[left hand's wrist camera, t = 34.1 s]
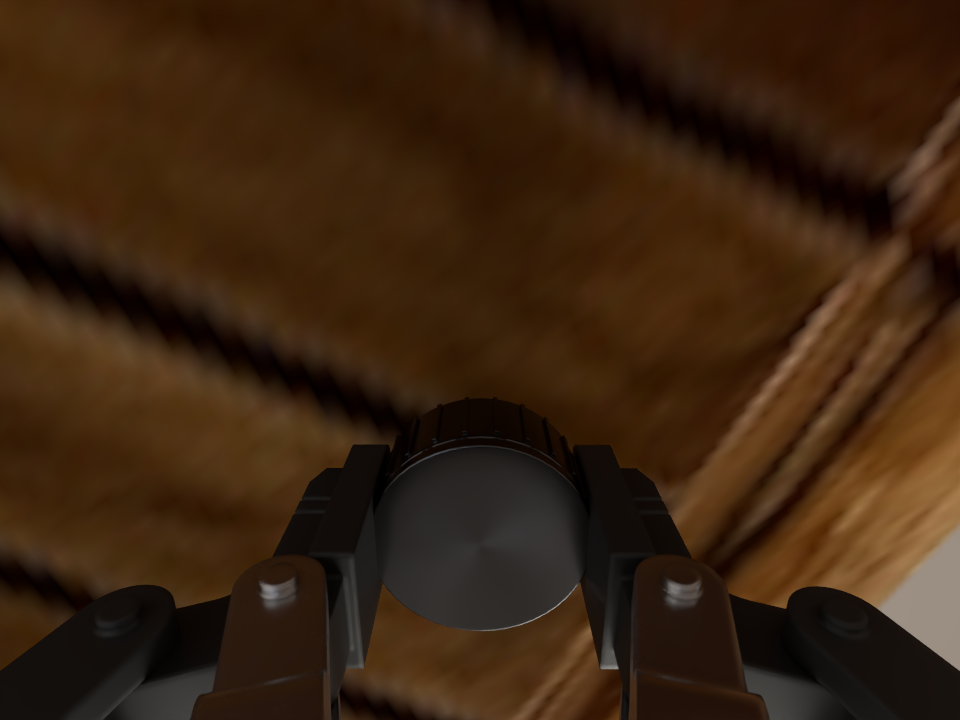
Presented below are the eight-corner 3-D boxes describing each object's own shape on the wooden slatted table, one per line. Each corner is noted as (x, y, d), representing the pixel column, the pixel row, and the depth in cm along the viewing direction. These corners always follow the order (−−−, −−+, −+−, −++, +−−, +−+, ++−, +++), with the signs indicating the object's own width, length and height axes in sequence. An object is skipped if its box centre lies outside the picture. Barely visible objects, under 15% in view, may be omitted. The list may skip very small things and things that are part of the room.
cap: (573, 564, 13) (589, 634, 11) (388, 563, 13) (373, 633, 11) (585, 394, 12) (605, 443, 10) (377, 394, 12) (356, 442, 10)
